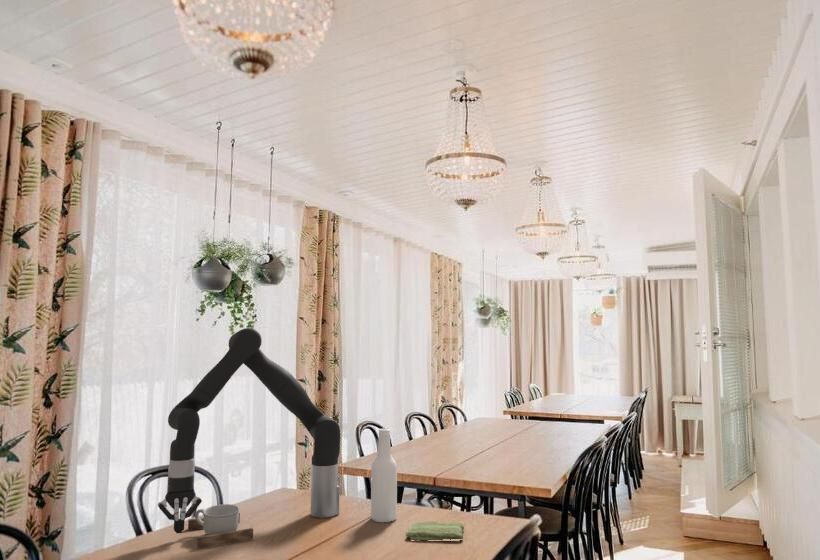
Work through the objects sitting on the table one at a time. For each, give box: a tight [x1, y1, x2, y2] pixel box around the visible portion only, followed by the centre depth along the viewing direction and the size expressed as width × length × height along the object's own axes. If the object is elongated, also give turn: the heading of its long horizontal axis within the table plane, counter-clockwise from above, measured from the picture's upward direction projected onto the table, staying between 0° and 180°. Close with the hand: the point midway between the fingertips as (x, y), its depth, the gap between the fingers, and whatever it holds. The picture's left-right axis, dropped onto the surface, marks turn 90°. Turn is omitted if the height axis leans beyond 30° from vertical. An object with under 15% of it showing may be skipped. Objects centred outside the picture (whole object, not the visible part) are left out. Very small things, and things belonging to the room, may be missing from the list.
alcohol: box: [370, 427, 398, 524], centre depth 196 cm, size 9×9×30 cm
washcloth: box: [405, 520, 465, 541], centre depth 179 cm, size 13×18×3 cm
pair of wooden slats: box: [187, 512, 254, 549], centre depth 180 cm, size 16×20×3 cm
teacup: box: [194, 503, 240, 535], centre depth 179 cm, size 14×11×8 cm
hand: (178, 532), depth 174 cm, fingers closed
